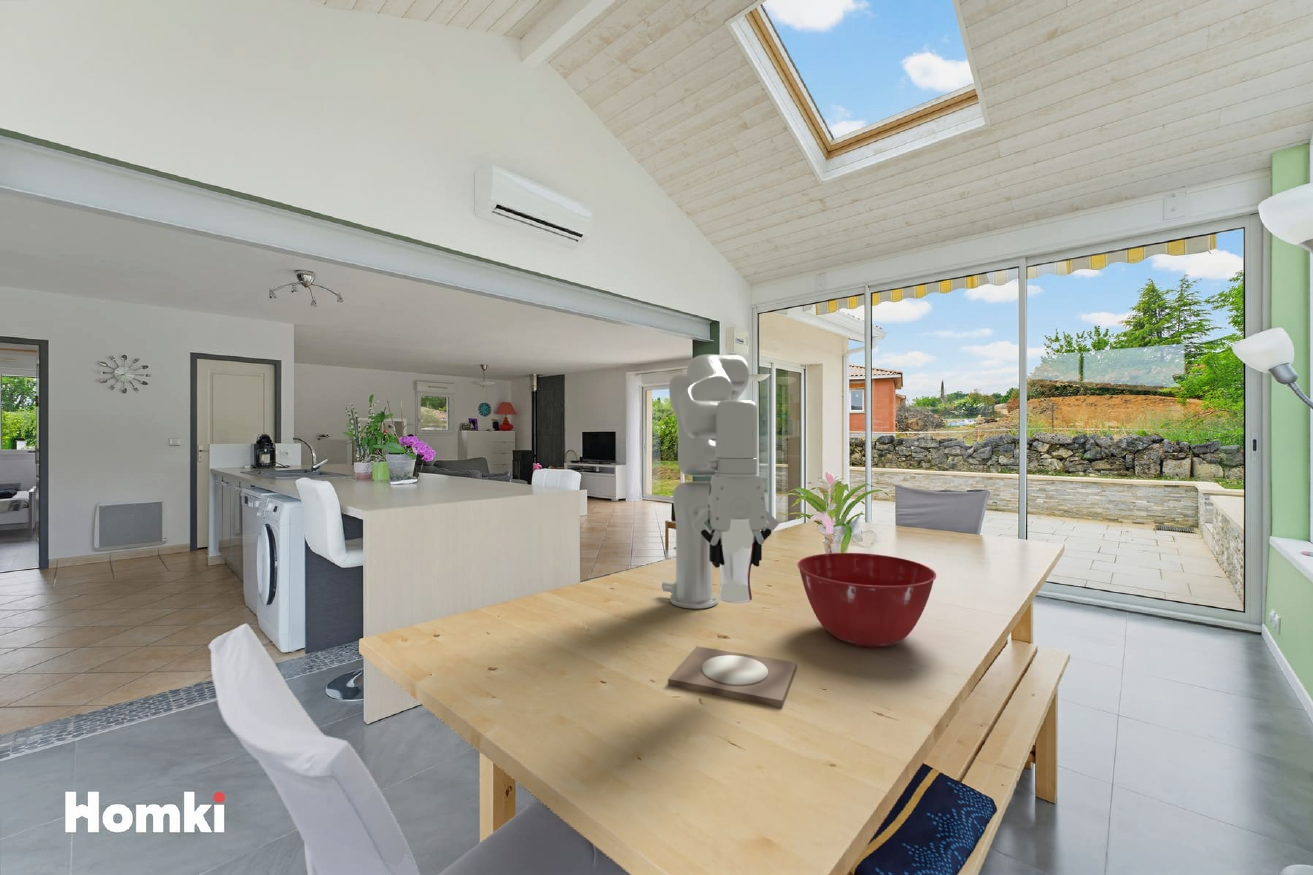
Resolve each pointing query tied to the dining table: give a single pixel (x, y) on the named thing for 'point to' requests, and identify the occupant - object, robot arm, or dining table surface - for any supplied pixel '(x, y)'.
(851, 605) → the mixing bowl
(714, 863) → the dining table surface
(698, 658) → the walnut board
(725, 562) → the silver metal tumbler
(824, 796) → the dining table surface
